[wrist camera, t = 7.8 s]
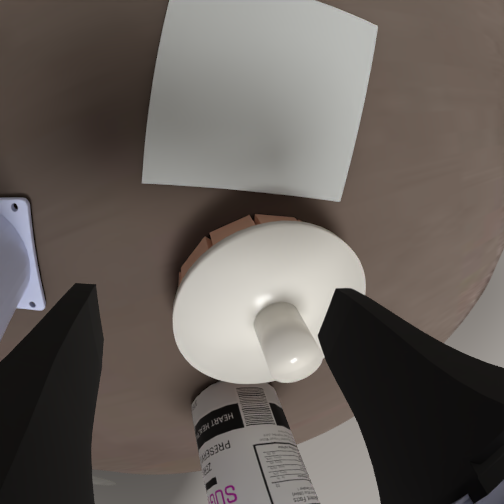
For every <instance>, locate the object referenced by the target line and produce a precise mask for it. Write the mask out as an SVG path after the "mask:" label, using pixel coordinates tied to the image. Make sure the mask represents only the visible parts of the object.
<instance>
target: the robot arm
mask: <svg viewBox="0 0 504 504" xmlns="http://www.w3.org/2000/svg"><path fill="white" fill-rule="evenodd" d="M14 203H15V204H16V205H17V206H18V209H15V207H14ZM31 301H32V302H34V303H35V304H33V303H32V302H31ZM45 306H46V301H45V297H44V293H43V288H42V284H41V279H40V274H39V268H38V263H37V257H36V251H35V244H34V237H33V229H32V220H31V210H30V203H29V201H28V200H27V199H26V198H23V197H10V198H0V341H1V339H2V336H3V334H4V332H5V330H6V328H7V326H8V324H9V322H10V319H11V317H12V315H13V313H14V311H15V309H16V308H21V309H31V310H43V309H44V308H45ZM318 339H319V342H320V345H321V348H322V351H323V354H324V356H325V359H326V362H327V364H328V366H329V368H330V370H331V372H332V374H333V376H334V377H335V379H336V381H337V383H338V385H339V387H340V389H341V391H342V393H343V395H344V396H345V398H346V400H347V402H348V404H349V406H350V408H351V410H352V412H353V414H354V416H355V418H356V420H357V422H358V424H359V427H360V430H361V432H362V435H363V438H364V440H365V443H366V446H367V449H368V452H369V456H370V459H371V462H372V465H373V469H374V473H375V477H376V481H377V485H378V490H379V495H380V501H381V504H504V368H502V367H498V366H495V365H492V364H489V363H486V362H484V361H481V360H479V359H476V358H474V357H471V356H469V355H466V354H464V353H462V352H460V351H458V350H456V349H454V348H452V347H450V346H448V345H445V344H444V343H442V342H440V341H438V340H436V339H434V338H433V337H431V336H429V335H428V334H426V333H424V332H423V331H421V330H419V329H418V328H416V327H414V326H413V325H411V324H409V323H408V322H406V321H405V320H403V319H402V318H400V317H398V316H397V315H395V314H394V313H392V312H391V311H389V310H388V309H386V308H385V307H383V306H381V305H380V304H378V303H377V302H375V301H373V300H372V299H370V298H369V297H367V296H365V295H363V294H362V293H360V292H358V291H356V290H354V289H352V288H336V289H335V291H334V294H333V297H332V300H331V302H330V305H329V308H328V310H327V313H326V315H325V318H324V321H323V323H322V326H321V328H320V331H319V333H318ZM103 342H104V338H103V332H102V326H101V320H100V313H99V306H98V299H97V291H96V284H79V283H75V284H74V285H73V286H72V287H71V288H70V289H69V290H68V291H67V293H66V294H65V295H64V296H63V297H62V298H61V299H60V300H59V301H58V302H57V303H56V304H55V306H54V307H53V308H52V309H51V310H50V311H49V312H48V313H47V314H46V315H45V316H44V318H43V319H42V320H41V321H40V322H39V323H38V324H37V325H36V326H35V327H34V328H33V330H32V331H31V332H30V333H29V334H28V335H27V336H26V337H25V338H24V339H23V340H22V341H21V342H20V343H19V344H18V345H17V346H16V347H15V348H14V349H13V350H12V351H11V352H10V353H9V354H8V355H7V356H6V357H5V358H4V359H3V360H2V361H1V362H0V504H95V503H94V494H93V482H92V464H91V442H92V430H93V422H94V414H95V407H96V401H97V394H98V388H99V382H100V376H101V370H102V356H103Z"/></svg>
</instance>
